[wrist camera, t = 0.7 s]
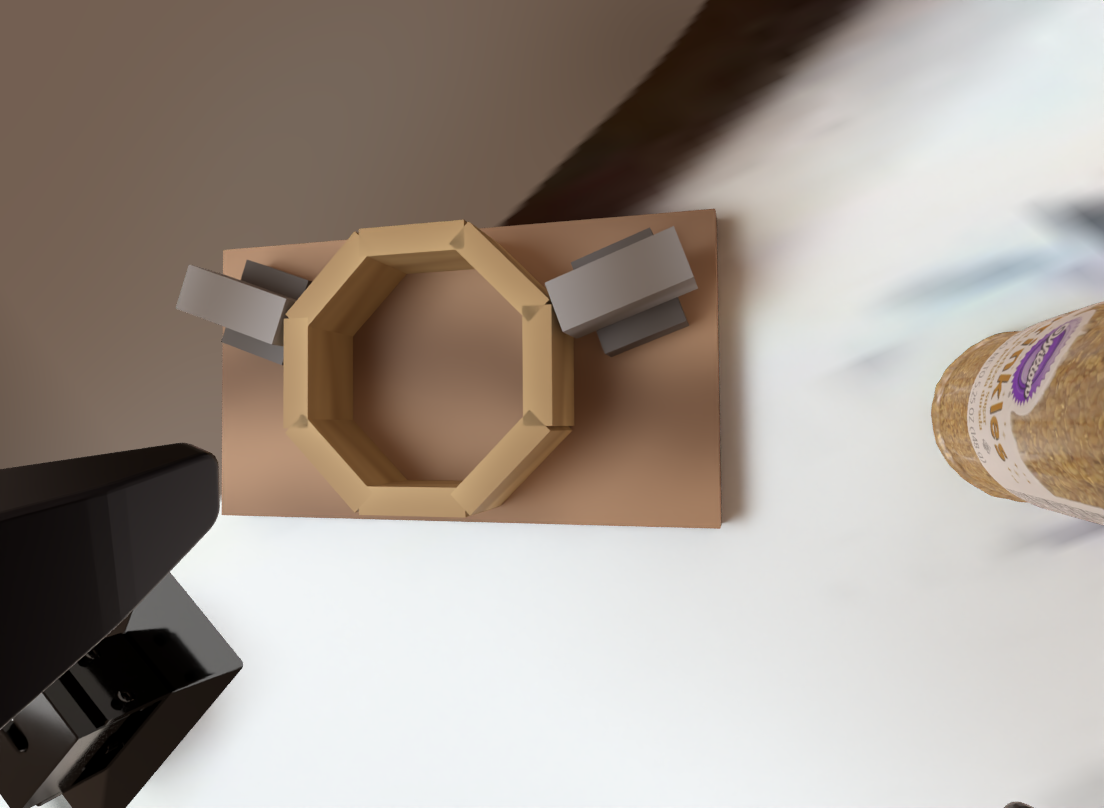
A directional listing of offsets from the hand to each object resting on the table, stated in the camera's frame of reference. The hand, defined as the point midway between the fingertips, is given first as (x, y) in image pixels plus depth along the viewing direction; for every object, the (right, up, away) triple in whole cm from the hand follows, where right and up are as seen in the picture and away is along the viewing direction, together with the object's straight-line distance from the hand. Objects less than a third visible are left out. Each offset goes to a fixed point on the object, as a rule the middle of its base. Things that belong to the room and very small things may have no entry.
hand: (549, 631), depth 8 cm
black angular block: (-15, -8, +20) cm, 26 cm away
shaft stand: (-3, +3, +16) cm, 16 cm away
